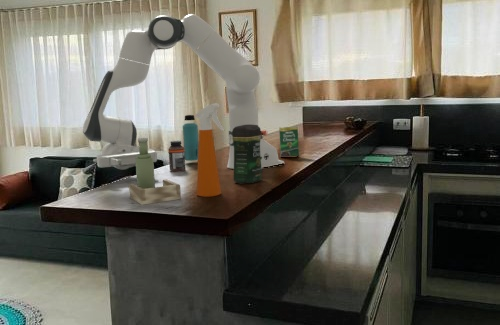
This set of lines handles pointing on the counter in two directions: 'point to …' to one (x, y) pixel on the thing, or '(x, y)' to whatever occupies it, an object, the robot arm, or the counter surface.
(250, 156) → the coffee jar
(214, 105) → the spray bottle
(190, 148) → the beverage bottle
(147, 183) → the bottle
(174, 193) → the u rest
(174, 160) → the supplement bottle
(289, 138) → the coffee box
